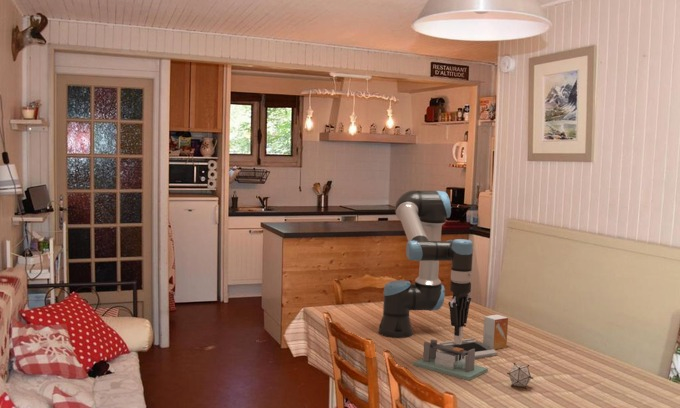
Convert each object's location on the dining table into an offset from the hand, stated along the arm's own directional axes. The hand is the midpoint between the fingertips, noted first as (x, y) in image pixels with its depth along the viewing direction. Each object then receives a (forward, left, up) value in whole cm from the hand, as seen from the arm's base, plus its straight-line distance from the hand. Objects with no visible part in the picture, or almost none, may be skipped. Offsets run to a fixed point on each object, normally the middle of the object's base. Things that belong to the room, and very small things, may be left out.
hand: (457, 343), depth 248 cm
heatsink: (-3, 0, -10) cm, 11 cm away
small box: (-4, +38, -10) cm, 39 cm away
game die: (+25, 0, -10) cm, 27 cm away
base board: (-3, 0, -10) cm, 11 cm away
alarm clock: (-8, +23, -11) cm, 26 cm away
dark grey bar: (-4, 0, -4) cm, 5 cm away
